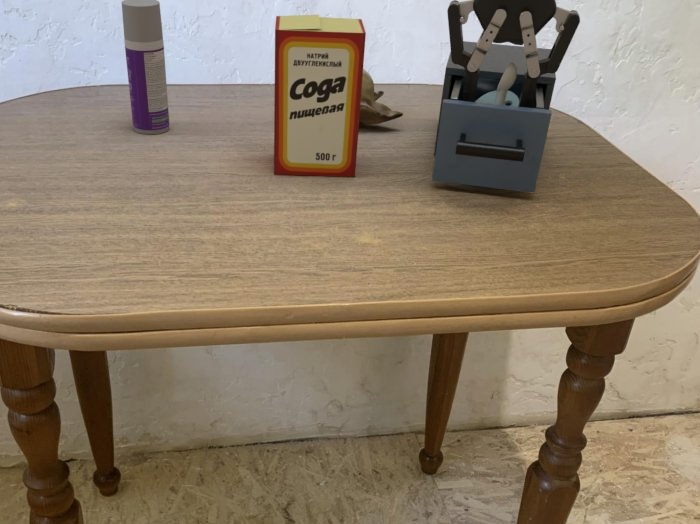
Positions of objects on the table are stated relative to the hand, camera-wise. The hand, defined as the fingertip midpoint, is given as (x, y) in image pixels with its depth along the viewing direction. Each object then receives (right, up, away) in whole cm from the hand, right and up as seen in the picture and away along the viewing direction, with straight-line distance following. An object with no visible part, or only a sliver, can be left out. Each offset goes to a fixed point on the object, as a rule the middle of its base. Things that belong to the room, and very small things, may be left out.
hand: (496, 106), depth 86 cm
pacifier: (-1, -1, +1) cm, 2 cm away
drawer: (-1, -7, +3) cm, 7 cm away
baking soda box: (-20, -5, +6) cm, 22 cm away
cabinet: (+2, +1, +14) cm, 15 cm away
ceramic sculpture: (-17, +5, +19) cm, 26 cm away
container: (-42, +2, +14) cm, 44 cm away
